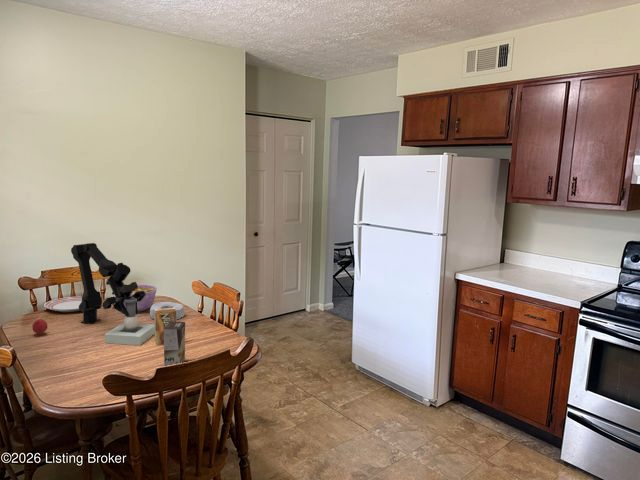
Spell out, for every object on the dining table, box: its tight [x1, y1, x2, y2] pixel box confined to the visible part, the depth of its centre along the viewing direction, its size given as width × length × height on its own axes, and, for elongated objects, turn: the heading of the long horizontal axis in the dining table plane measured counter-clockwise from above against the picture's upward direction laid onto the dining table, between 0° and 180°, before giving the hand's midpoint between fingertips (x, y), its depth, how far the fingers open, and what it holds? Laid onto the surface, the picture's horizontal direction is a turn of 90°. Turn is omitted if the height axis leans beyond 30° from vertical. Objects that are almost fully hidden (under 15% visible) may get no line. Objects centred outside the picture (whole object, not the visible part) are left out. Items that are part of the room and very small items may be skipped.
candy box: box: [154, 307, 177, 345], centre depth 198 cm, size 9×4×15 cm, turn 116°
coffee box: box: [163, 321, 186, 367], centre depth 176 cm, size 9×6×16 cm
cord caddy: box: [104, 322, 155, 346], centre depth 202 cm, size 16×16×4 cm
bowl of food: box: [124, 284, 158, 313], centre depth 242 cm, size 20×20×12 cm
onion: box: [31, 317, 48, 336], centre depth 201 cm, size 6×6×8 cm
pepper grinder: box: [123, 298, 139, 331], centre depth 201 cm, size 6×6×14 cm
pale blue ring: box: [149, 301, 186, 320], centre depth 234 cm, size 18×18×6 cm
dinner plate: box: [43, 295, 82, 313], centre depth 242 cm, size 28×27×3 cm
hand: (132, 314), depth 200 cm, fingers closed on pepper grinder, 4 cm apart
